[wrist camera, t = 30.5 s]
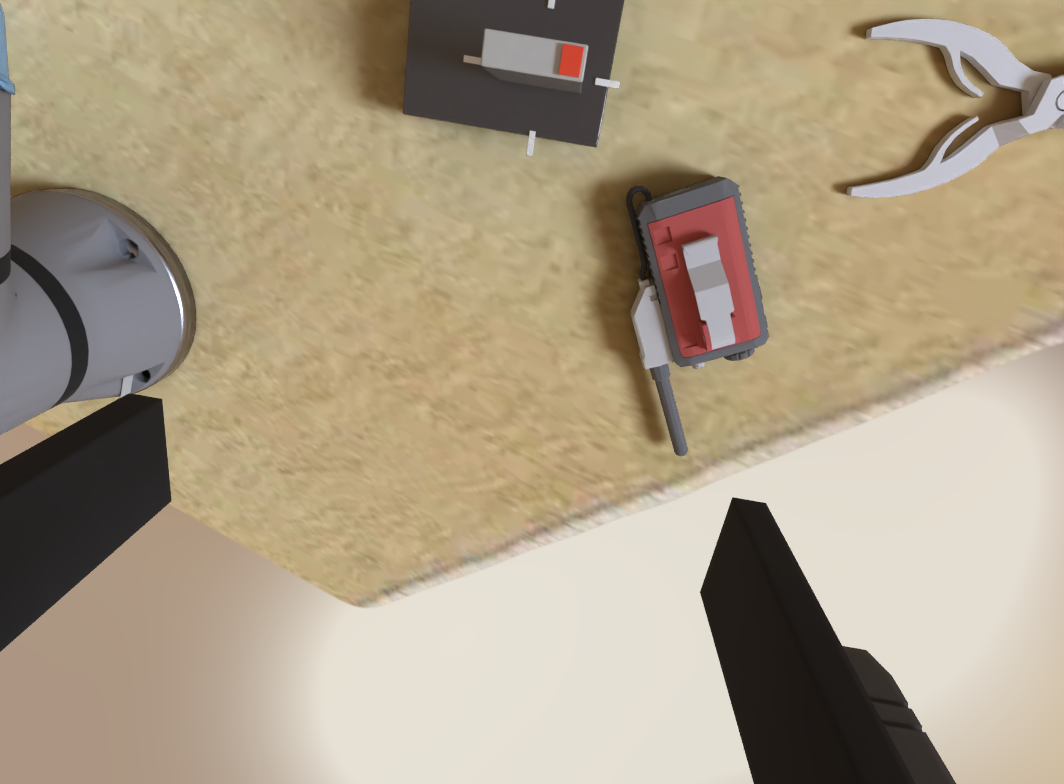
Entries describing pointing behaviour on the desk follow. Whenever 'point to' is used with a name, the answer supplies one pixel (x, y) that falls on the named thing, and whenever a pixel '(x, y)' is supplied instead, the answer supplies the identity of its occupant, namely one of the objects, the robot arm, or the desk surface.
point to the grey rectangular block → (534, 60)
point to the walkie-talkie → (694, 285)
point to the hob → (483, 101)
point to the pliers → (1041, 97)
